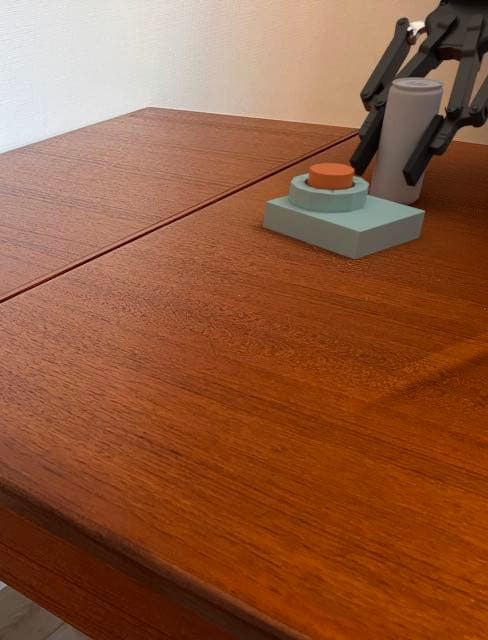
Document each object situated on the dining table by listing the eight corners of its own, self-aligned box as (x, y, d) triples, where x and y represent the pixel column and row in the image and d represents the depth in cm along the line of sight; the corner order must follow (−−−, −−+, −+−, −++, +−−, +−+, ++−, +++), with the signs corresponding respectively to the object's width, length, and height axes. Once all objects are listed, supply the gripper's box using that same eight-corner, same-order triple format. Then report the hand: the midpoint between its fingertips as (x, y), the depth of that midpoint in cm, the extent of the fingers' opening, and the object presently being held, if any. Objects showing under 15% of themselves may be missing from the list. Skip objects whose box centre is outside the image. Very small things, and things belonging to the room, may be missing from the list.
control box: (419, 238, 82) (430, 192, 79) (354, 260, 78) (364, 212, 76) (324, 208, 90) (331, 166, 88) (262, 227, 87) (268, 183, 84)
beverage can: (401, 210, 88) (428, 89, 82) (358, 200, 92) (381, 83, 86) (427, 199, 91) (455, 81, 85) (383, 190, 94) (407, 75, 88)
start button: (360, 187, 83) (364, 169, 82) (331, 195, 81) (334, 177, 80) (326, 178, 86) (329, 160, 85) (298, 185, 84) (300, 168, 83)
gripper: (599, 6, 84) (478, 211, 84) (416, -3, 96) (311, 176, 96) (596, -50, 79) (467, 170, 79) (403, -52, 91) (291, 138, 91)
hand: (381, 173), depth 87 cm, fingers closed on beverage can, 5 cm apart
